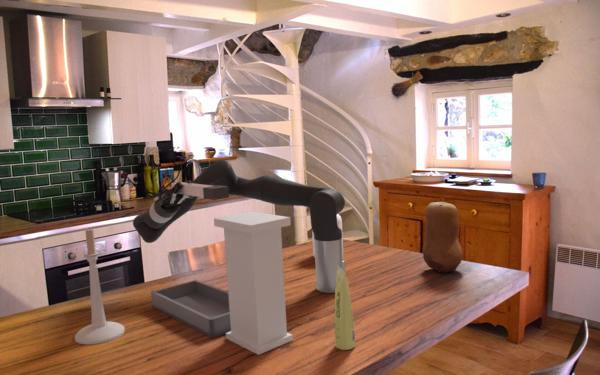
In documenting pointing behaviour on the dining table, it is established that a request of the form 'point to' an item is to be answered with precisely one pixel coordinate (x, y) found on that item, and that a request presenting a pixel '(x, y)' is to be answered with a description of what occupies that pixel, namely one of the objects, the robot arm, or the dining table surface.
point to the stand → (255, 279)
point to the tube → (343, 314)
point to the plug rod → (204, 190)
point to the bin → (196, 306)
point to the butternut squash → (442, 237)
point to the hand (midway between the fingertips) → (185, 183)
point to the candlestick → (96, 305)
